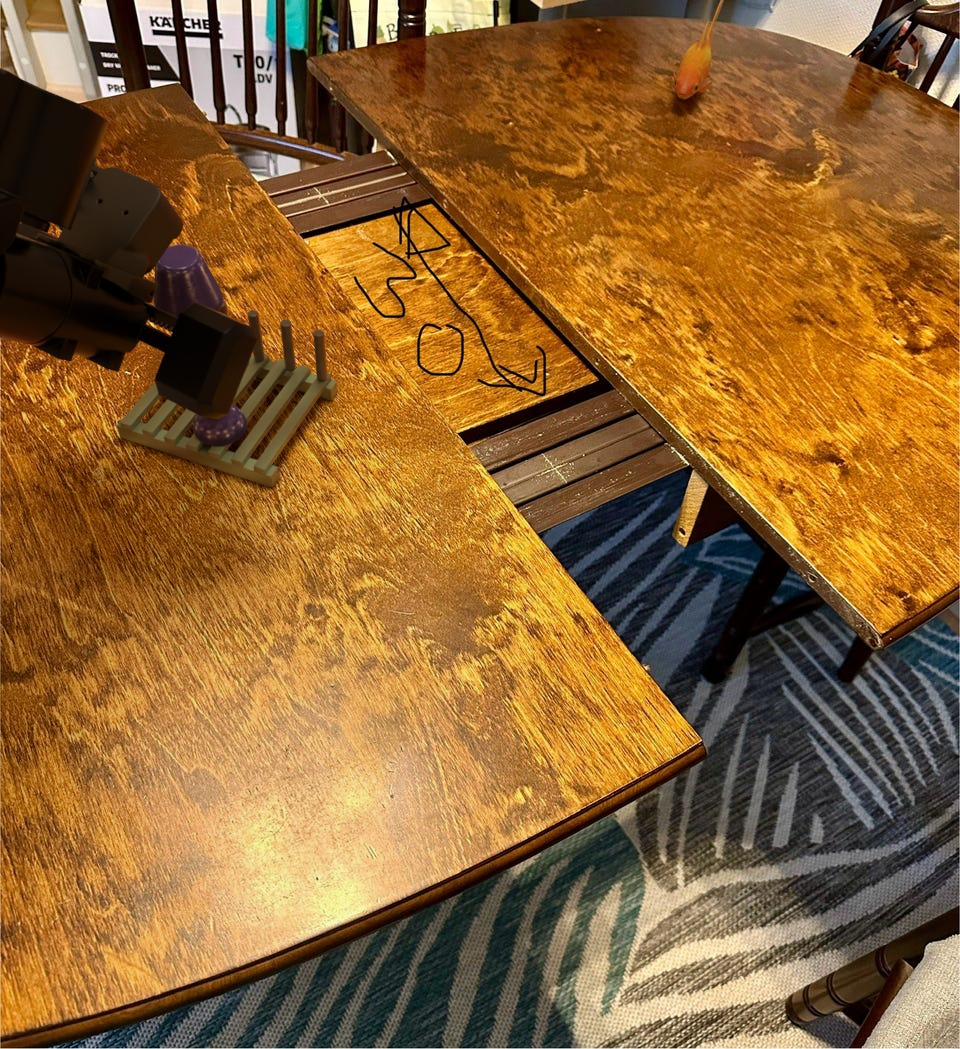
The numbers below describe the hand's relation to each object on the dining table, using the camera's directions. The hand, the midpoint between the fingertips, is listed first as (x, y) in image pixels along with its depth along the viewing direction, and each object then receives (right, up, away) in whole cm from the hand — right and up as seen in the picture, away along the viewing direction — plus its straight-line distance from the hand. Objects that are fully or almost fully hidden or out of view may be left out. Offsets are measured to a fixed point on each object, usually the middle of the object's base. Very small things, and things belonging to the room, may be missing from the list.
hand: (195, 341), depth 65 cm
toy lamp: (-1, -6, +8) cm, 10 cm away
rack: (0, -4, +11) cm, 12 cm away
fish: (+50, +47, +58) cm, 90 cm away
